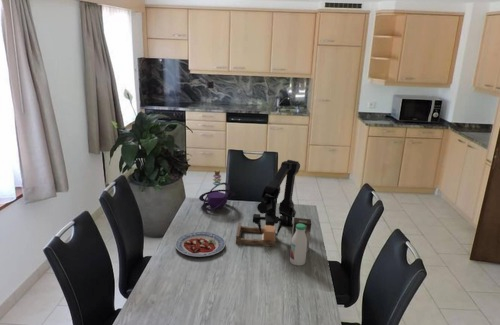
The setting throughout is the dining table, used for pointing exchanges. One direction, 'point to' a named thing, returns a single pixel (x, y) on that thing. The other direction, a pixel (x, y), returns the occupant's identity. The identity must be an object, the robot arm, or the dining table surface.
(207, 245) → the ceramic plate
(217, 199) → the decorative bottle
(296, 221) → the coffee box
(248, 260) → the dining table surface
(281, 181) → the robot arm
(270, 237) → the block
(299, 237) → the milk bottle
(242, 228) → the bay
